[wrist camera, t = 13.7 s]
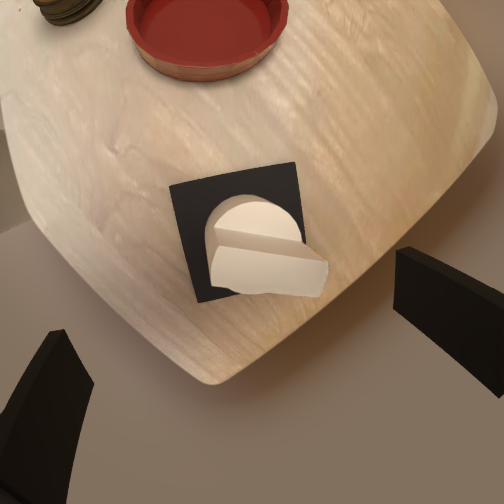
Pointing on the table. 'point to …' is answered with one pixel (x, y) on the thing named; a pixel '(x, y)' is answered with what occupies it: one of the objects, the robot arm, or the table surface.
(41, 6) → the container
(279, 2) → the red round dish
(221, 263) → the base with upright slab
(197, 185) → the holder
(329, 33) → the table surface
